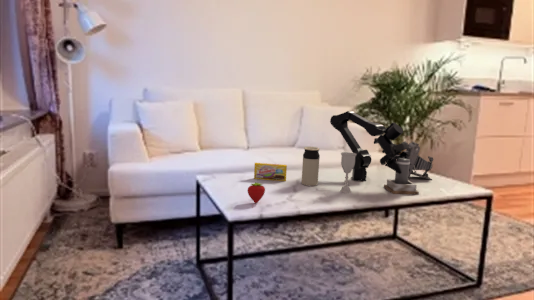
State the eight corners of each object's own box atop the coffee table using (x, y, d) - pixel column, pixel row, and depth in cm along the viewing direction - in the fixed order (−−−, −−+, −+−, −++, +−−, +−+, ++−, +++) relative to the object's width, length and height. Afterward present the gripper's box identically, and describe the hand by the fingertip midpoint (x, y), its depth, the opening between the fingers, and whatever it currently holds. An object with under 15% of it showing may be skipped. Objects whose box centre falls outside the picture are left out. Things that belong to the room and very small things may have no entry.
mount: (392, 193, 200) (393, 185, 199) (383, 186, 212) (384, 178, 211) (418, 194, 201) (419, 185, 200) (408, 187, 213) (409, 179, 212)
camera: (430, 187, 230) (444, 152, 227) (400, 177, 231) (413, 142, 227) (424, 182, 241) (437, 149, 238) (395, 173, 242) (408, 139, 238)
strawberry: (244, 201, 177) (245, 178, 176) (260, 200, 181) (261, 176, 179) (250, 205, 172) (251, 181, 170) (267, 204, 176) (268, 180, 174)
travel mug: (320, 185, 208) (322, 149, 205) (305, 186, 206) (307, 149, 203) (313, 181, 216) (316, 146, 213) (299, 182, 214) (301, 146, 211)
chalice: (354, 190, 202) (357, 153, 199) (352, 194, 196) (355, 155, 193) (339, 188, 205) (341, 151, 202) (336, 192, 198) (339, 153, 195)
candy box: (253, 179, 216) (254, 163, 215) (254, 178, 218) (254, 162, 217) (285, 181, 215) (286, 165, 213) (286, 180, 217) (286, 164, 215)
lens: (394, 188, 204) (397, 159, 202) (393, 185, 210) (396, 157, 208) (408, 190, 203) (410, 161, 201) (406, 187, 209) (409, 158, 207)
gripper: (387, 137, 199) (406, 165, 193) (409, 134, 211) (427, 160, 205) (371, 151, 206) (389, 178, 200) (393, 148, 218) (411, 173, 212)
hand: (405, 172), depth 204 cm, fingers open, 7 cm apart
